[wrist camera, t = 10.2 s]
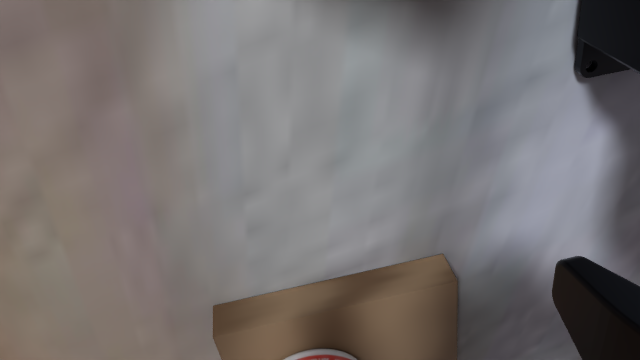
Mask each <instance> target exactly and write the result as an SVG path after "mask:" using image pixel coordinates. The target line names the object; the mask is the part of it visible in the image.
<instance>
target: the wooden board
mask: <svg viewBox="0 0 640 360" xmlns="http://www.w3.org/2000/svg"><path fill="white" fill-rule="evenodd" d="M457 306H458V281H457V279H456V277H455V275H454V273H453V272H452V270H451V268H450V266H449V264H448V262H447V260H446V259H445V257H444V255H443V254H440V255H436V256H431V257H427V258H423V259H418V260H414V261H409V262H405V263H401V264H396V265H392V266H387V267H383V268H378V269H374V270H370V271H365V272H361V273H356V274H352V275H348V276H343V277H339V278H334V279H330V280H325V281H321V282H317V283H312V284H308V285H303V286H299V287H295V288H290V289H286V290H281V291H277V292H272V293H268V294H264V295H259V296H255V297H250V298H246V299H242V300H237V301H233V302H228V303H224V304H220V305H215V306H213V339H214V341H215V344H216V346H217V349H218V351H219V354H220V356H221V359H222V360H283V359H285V358H287V357H289V356H291V355H293V354H296V353H299V352H302V351H306V350H311V349H334V350H339V351H343V352H345V353H348V354H350V355H351V356H353V357H355V358H356V359H357V360H457Z"/></svg>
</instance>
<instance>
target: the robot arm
mask: <svg viewBox="0 0 640 360" xmlns="http://www.w3.org/2000/svg"><path fill="white" fill-rule="evenodd" d="M578 37H579V39H578V46H577V53H576V61H575V70H576V72H577V73H579V74H580V75H582V76H583V77H585V78H591V77H595V76H600V75H605V74H610V73H614V72H619V71H624V70H629V69H632V70H634V71H636V72H637V73H639V74H640V0H582V5H581V13H580V20H579V27H578ZM591 61H592V63H591V65H590V66H589V67H588V68H586V66H587V64H588V63H589V62H591ZM552 297H553V301H554V304H555V306H556V308H557V310H558V312H559V314H560V316H561V318H562V320H563V322H564V324H565V326H566V328H567V330H568V332H569V334H570V336H571V338H572V340H573V342H574V344H575V346H576V348H577V350H578V352H579V354H580V356H581V358H582V360H640V286H638V285H636V284H634V283H632V282H630V281H628V280H627V279H625V278H623V277H621V276H619V275H617V274H615V273H613V272H611V271H609V270H608V269H606V268H604V267H602V266H600V265H598V264H596V263H594V262H592V261H591V260H589V259H587V258H585V257H581V256H575V257H571V258H567V259H563V260H560V261H558V263H557V264H556V268H555V274H554V281H553V288H552Z"/></svg>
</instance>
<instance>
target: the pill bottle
mask: <svg viewBox="0 0 640 360" xmlns="http://www.w3.org/2000/svg"><path fill="white" fill-rule="evenodd" d="M283 360H357V359H356V358H355V357H353V356H351V355H350V354H348V353H345V352H343V351H339V350H334V349H311V350H306V351H302V352H299V353H296V354H293V355H291V356H289V357H287V358H285V359H283Z"/></svg>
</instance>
